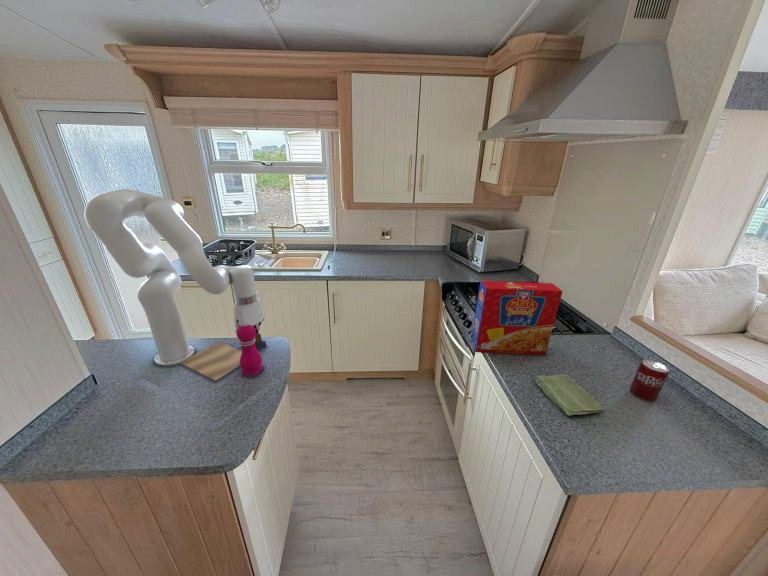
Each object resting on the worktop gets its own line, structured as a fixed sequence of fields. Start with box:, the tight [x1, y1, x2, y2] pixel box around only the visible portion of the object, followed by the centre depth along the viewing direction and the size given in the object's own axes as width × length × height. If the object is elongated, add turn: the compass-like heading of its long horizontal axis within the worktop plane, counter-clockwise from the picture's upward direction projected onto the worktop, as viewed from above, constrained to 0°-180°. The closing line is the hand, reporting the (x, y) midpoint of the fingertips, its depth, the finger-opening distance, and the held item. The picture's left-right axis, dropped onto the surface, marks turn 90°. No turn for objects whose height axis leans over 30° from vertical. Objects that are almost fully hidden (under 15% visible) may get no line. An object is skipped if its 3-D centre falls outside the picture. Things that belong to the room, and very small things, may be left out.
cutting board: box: [179, 341, 242, 381], centre depth 113 cm, size 20×16×1 cm
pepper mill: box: [235, 322, 263, 376], centre depth 104 cm, size 7×7×20 cm
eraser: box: [255, 333, 267, 352], centre depth 121 cm, size 9×4×6 cm, turn 62°
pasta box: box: [470, 280, 563, 356], centre depth 121 cm, size 28×8×28 cm, turn 88°
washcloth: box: [534, 373, 604, 417], centre depth 100 cm, size 13×18×3 cm
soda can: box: [629, 359, 671, 403], centre depth 100 cm, size 7×7×12 cm
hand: (252, 340), depth 121 cm, fingers closed on eraser, 2 cm apart
